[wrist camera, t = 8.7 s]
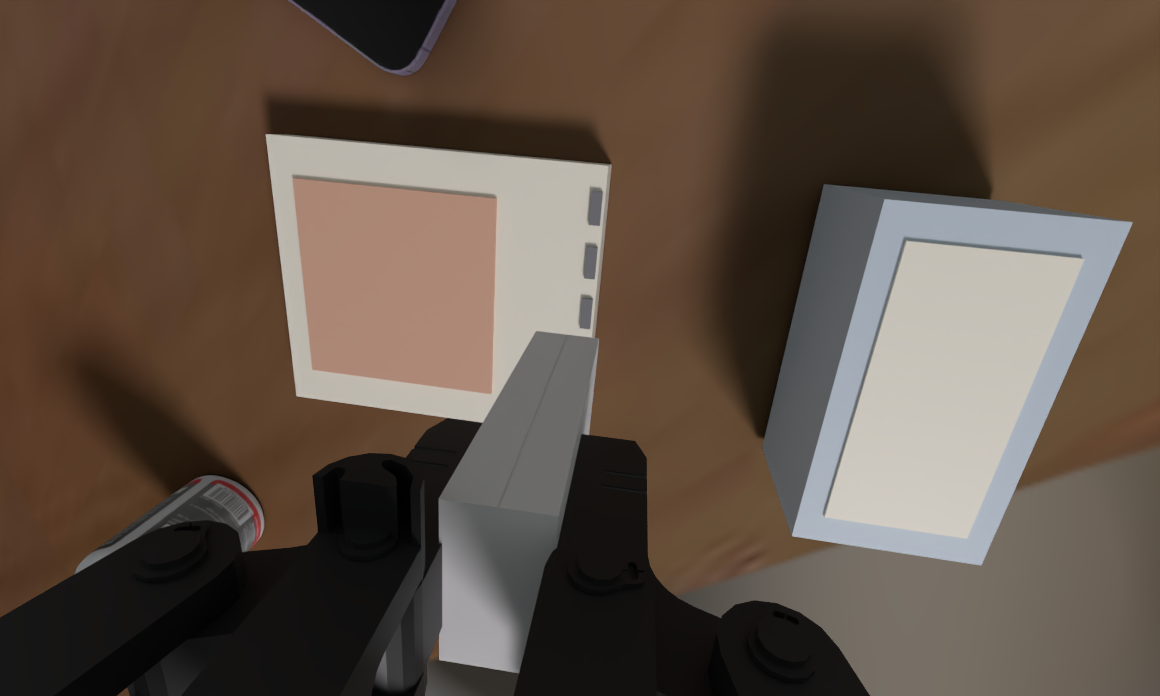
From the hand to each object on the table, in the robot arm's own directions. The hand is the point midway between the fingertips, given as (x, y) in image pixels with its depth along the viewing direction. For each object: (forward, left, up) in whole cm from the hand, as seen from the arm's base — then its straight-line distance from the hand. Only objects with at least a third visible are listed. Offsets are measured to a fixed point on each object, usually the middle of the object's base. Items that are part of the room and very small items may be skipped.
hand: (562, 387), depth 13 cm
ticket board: (-7, -1, -10) cm, 12 cm away
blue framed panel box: (+11, -1, -10) cm, 14 cm away
